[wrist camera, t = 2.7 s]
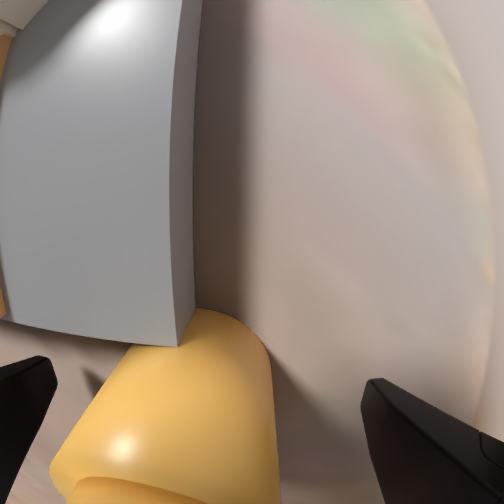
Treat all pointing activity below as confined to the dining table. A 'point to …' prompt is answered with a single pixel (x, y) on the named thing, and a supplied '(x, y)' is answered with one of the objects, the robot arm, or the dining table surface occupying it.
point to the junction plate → (98, 166)
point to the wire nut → (179, 424)
